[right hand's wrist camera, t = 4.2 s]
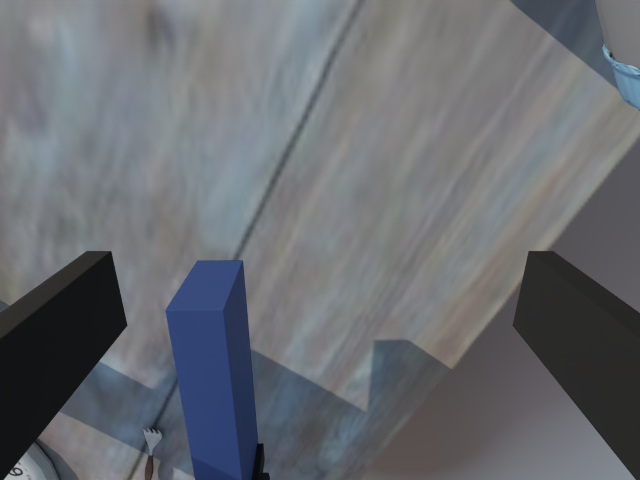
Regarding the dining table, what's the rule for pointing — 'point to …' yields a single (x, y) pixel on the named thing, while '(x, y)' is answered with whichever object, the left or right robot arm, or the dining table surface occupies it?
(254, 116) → the dining table surface
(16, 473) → the wall clock
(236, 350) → the bar
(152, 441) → the fork
